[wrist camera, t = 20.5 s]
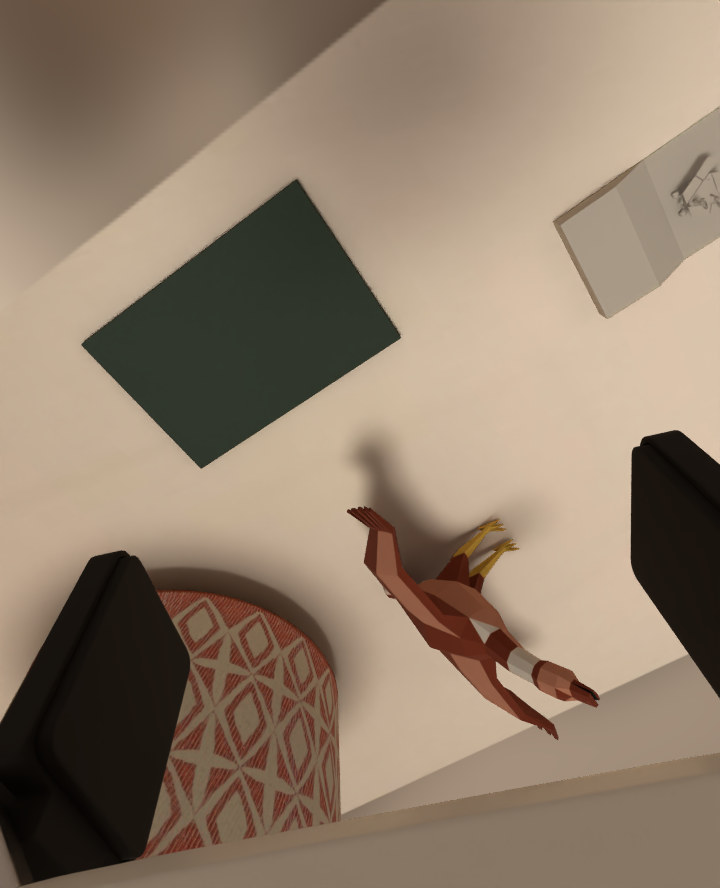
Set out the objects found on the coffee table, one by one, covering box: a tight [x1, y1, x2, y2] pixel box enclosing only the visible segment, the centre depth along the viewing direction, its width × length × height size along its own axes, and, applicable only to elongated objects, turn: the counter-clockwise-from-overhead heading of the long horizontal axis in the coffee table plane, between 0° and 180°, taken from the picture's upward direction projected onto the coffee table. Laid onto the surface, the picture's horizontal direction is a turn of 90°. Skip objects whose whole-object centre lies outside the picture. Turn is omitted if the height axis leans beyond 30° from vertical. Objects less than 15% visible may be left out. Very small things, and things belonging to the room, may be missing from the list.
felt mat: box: [81, 180, 401, 468], centre depth 40 cm, size 12×18×1 cm, turn 124°
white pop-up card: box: [553, 107, 720, 319], centre depth 36 cm, size 7×12×2 cm, turn 125°
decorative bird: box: [347, 506, 600, 740], centre depth 44 cm, size 28×18×15 cm, turn 34°
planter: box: [0, 590, 341, 860], centre depth 45 cm, size 27×27×24 cm
